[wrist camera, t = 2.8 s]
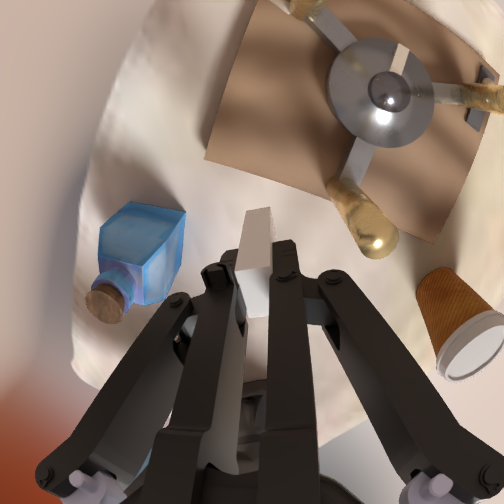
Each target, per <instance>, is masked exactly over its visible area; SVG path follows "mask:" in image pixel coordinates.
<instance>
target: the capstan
mask: <svg viewBox="0 0 504 504" xmlns="http://www.w3.org/2000/svg"><path fill="white" fill-rule="evenodd" d="M327 2H328V0H291V2H290V6H289V10H290V13H291V14H292V16H293V17H295V18H296V19H298V20H300V21H304V22H306V23H307V24H308V25H309V26H310V27H311V28H312V29H313V30H314V31H315V32H316V33H317V34H318V35H319V36H320V37H321V38H322V39H323V41H324V42H325V43H326V44H327V45H328V46H329V47H330V48H331V49H332V50H333V51H334V52H335V54H336V56H335V57H334V59H333V60H332V62H331V63H330V65H329V68H328V70H327V74H326V80H325V91H326V97H327V101H328V104H329V107H330V109H331V111H332V113H333V115H334V117H335V118H336V120H337V121H338V122H339V123H340V125H341V126H342V127H343V128H344V129H345V130H346V131H348V132H349V133H350V134H352V135H351V138H350V140H349V143H348V145H347V148H346V150H345V153H344V155H343V157H342V160H341V162H340V165H339V167H338V170H337V172H336V174H335V175H334V176H332V177H331V178H330V179H329V181H328V183H327V186H326V190H327V193H328V195H329V197H330V198H331V200H332V202H333V203H334V205H335V207H336V208H337V210H338V212H339V213H340V215H341V217H342V218H343V220H344V222H345V224H346V225H347V227H348V229H349V231H350V232H351V234H352V236H353V238H354V239H355V241H356V243H357V245H358V247H359V248H360V250H361V252H362V253H363V255H365V256H366V257H368V258H370V259H381V258H384V257H386V256H387V255H389V254H390V253H391V252H392V251H393V250H394V249H395V247H396V245H397V243H398V238H399V234H398V230H397V228H396V226H395V225H394V224H393V223H392V222H391V221H390V219H389V218H388V217H387V216H386V215H385V214H384V213H383V212H382V211H381V210H380V208H379V207H378V206H377V205H376V204H375V203H374V202H373V201H372V200H371V199H370V198H369V197H368V196H367V195H366V194H365V193H364V192H363V191H362V190H361V189H360V188H359V186H360V184H361V182H362V180H363V177H364V175H365V173H366V170H367V168H368V166H369V163H370V161H371V159H372V156H373V154H374V152H375V149H376V147H377V146H378V147H383V148H398V147H402V146H406V145H408V144H410V143H412V142H414V141H415V140H417V139H418V138H419V137H420V136H421V135H422V134H423V133H424V132H425V130H426V129H427V127H428V126H429V124H430V121H431V119H432V116H433V112H434V104H435V103H442V104H457V105H458V106H460V107H465V108H471V109H476V110H482V111H487V112H491V113H496V114H500V115H504V86H502V85H492V84H479V83H455V84H446V83H434V82H431V79H430V77H429V75H428V72H427V71H426V69H425V67H424V66H423V64H422V63H421V62H420V60H419V59H418V58H417V57H416V56H415V55H414V54H413V53H412V52H410V51H409V50H410V49H408V48H406V47H405V46H403V45H401V44H400V43H396V42H393V41H391V40H387V39H383V38H366V39H361V40H357V39H356V38H355V37H354V36H353V34H352V33H351V32H350V31H349V30H348V29H347V28H346V27H345V26H344V25H343V24H342V23H341V22H340V21H339V20H338V19H337V18H336V16H335V15H334V14H333V13H331V12H330V11H329V10H328V9H327V8H326V7H325V5H326V3H327Z"/></svg>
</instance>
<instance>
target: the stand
mask: <svg viewBox="0 0 504 504" xmlns="http://www.w3.org/2000/svg"><path fill="white" fill-rule="evenodd" d="M290 2H291V0H258V2H257V4H256V6H255V9H254V11H253V14H252V16H251V19H250V21H249V24H248V26H247V29H246V31H245V34H244V37H243V39H242V42H241V45H240V47H239V50H238V53H237V55H236V58H235V61H234V64H233V67H232V70H231V73H230V75H229V78H228V81H227V84H226V87H225V90H224V93H223V96H222V100H221V103H220V106H219V109H218V112H217V116H216V119H215V122H214V125H213V129H212V132H211V136H210V139H209V143H208V146H207V150H206V153H205V157H204V160H208V161H211V162H215V163H218V164H222V165H225V166H229V167H232V168H235V169H239V170H242V171H245V172H248V173H252V174H255V175H258V176H261V177H264V178H267V179H270V180H273V181H276V182H279V183H282V184H285V185H288V186H291V187H294V188H297V189H299V190H302V191H305V192H308V193H311V194H313V195H316V196H319V197H322V198H324V199H327V200H330V201H332V200H331V198H330V197H329V195H328V193H327V190H326V186H327V183H328V181H329V179H330V178H331V177H332V176H334V175H335V174H336V172H337V170H338V167H339V165H340V162H341V160H342V157H343V155H344V153H345V150H346V148H347V145H348V143H349V140H350V138H351V135H352V134H350V133H349V132H348V131H346V130H345V129H344V128H343V127H342V126H341V125H340V123H339V122H338V121H337V120H336V118H335V117H334V115H333V113H332V111H331V109H330V107H329V104H328V101H327V97H326V91H325V80H326V74H327V70H328V68H329V65H330V63H331V62H332V60H333V59H334V57H335V56H336V54H335V52H334V51H333V50H332V49H331V48H330V47H329V46H328V45H327V44H326V43H325V42H324V41H323V39H322V38H321V37H320V36H319V35H318V34H317V33H316V32H315V31H314V30H313V29H312V28H311V27H310V26H309V25H308V24H307V23H306V22H304V21H300V20H298V19H296V18H295V17H293V16H292V14H291V13H290V10H289V6H290ZM325 7H326V8H327V9H328V10H329V11H330V12H331V13H333V14H334V15H335V16H336V18H337V19H338V20H339V21H340V22H341V23H342V24H343V25H344V26H345V27H346V28H347V29H348V30H349V31H350V32H351V33H352V34H353V36H354V37H355V38H356V39H357V40H361V39H366V38H383V39H387V40H391V41H393V42H396V43H400V44H401V45H403V46H405V47H406V48H408V49H410V50H409V51H410V52H412V53H413V54H414V55H415V56H416V57H417V58H418V59H419V60H420V62H421V63H422V64H423V66H424V67H425V69H426V71H427V72H428V75H429V77H430V79H431V82H434V83H446V84H455V83H479V84H492V85H498V81H499V76H500V75H499V74H498V73H497V72H496V71H495V70H494V69H493V68H492V67H491V66H490V65H489V64H488V63H487V62H486V61H485V60H484V59H483V58H482V57H480V56H479V55H478V54H477V53H476V52H475V51H474V50H473V49H472V48H470V47H469V46H468V45H467V44H466V43H464V42H463V41H462V40H461V39H460V38H458V37H457V36H456V35H455V34H453V33H452V32H451V31H449V30H448V29H447V28H445V27H444V26H443V25H441V24H440V23H438V22H437V21H436V20H434V19H433V18H431V17H430V16H428V15H427V14H425V13H424V12H422V11H421V10H419V9H418V8H416V7H414V6H413V5H411V4H410V3H408V2H406V1H405V0H328V2H327V3H326V5H325ZM489 115H490V112H487V111H482V110H476V109H471V108H465V107H460V106H458V105H457V104H442V103H435V104H434V112H433V116H432V119H431V121H430V124H429V126H428V127H427V129H426V130H425V132H424V133H423V134H422V135H421V136H420V137H419V138H418V139H417V140H415V141H414V142H412V143H410V144H408V145H406V146H402V147H398V148H383V147H378V146H377V147H376V149H375V152H374V154H373V156H372V159H371V161H370V163H369V166H368V168H367V170H366V173H365V175H364V177H363V180H362V182H361V184H360V186H359V188H360V189H361V190H362V191H363V192H364V193H365V194H366V195H367V196H368V197H369V198H370V199H371V200H372V201H373V202H374V203H375V204H376V205H377V206H378V207H379V208H380V210H381V211H382V212H383V213H384V214H385V215H386V216H387V217H388V218H389V219H390V221H391V222H392V223H393V224H394V225H395V226H396V228H398V229H400V230H403V231H405V232H407V233H409V234H411V235H414V236H416V237H418V238H420V239H422V240H424V241H427V242H429V243H431V244H434V242H435V240H436V238H437V237H438V235H439V233H440V231H441V229H442V227H443V226H444V224H445V222H446V220H447V218H448V216H449V214H450V212H451V210H452V208H453V206H454V204H455V202H456V200H457V198H458V196H459V193H460V191H461V189H462V187H463V185H464V182H465V180H466V178H467V175H468V173H469V171H470V168H471V166H472V163H473V161H474V158H475V156H476V153H477V151H478V148H479V145H480V142H481V140H482V137H483V134H484V131H485V128H486V125H487V122H488V118H489Z"/></svg>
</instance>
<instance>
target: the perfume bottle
mask: <svg viewBox="0 0 504 504" xmlns="http://www.w3.org/2000/svg"><path fill="white" fill-rule="evenodd" d="M185 216H186V212H184V211H179V210H173V209H168V208H162V207H157V206H151V205H146V204H140V203H134V202H129V203H127V204H126V205H125V206H124V207H123V208H121V209H120V210H119V211H118V212H117V213H116V214H115V215H113V216H112V217H111V218H110V219H109V220H108V221H107V222H106V223H104V224H103V225H102V226H101V227H100V233H99V245H98V263H99V271H100V275H99V276H98V277H97V278H96V280H95V281H94V282H93V284H92V286H91V291H90V292H89V293H87V295H86V298H85V300H86V305H87V308H88V309H89V311H90V312H91V313H92V314H93V315H94V316H95V317H96V318H97V319H99V320H100V321H102V322H105V323H108V324H116V323H118V322H120V320H121V319H122V315H123V314H125V313H126V312H128V310H129V308H130V307H131V305H132V303H135V304H139V305H142V306H145V305H148V304H152V303H156V302H159V301H163V300H165V298H166V295H167V293H168V291H169V289H170V287H171V285H172V282H173V280H174V278H175V276H176V274H177V272H178V270H179V268H180V266H181V259H182V247H183V236H184V226H185Z"/></svg>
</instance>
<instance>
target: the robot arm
mask: <svg viewBox="0 0 504 504" xmlns="http://www.w3.org/2000/svg"><path fill="white" fill-rule="evenodd" d="M201 276H202V278H203V281H204V284H205V286H206V290H205V293H204V294H202V295H199V296H196V297H193V298H190V296H189V295H188V294H187V293H184V292H178V293H174V294H172V295H171V296H169V297H168V298H167V299H166V300H165V301H164V302H163V303H162V305H161V306H160V307H159V309H158V310H157V311H156V313H155V314H154V315H153V317H152V318H151V319H150V321H149V322H148V324H147V325H146V326H145V328H144V329H143V330H142V332H141V333H140V335H139V336H138V337H137V339H136V340H135V341H134V343H133V344H132V346H131V347H130V348H129V350H128V351H127V353H126V354H125V356H124V357H123V358H122V360H121V361H120V363H119V364H118V365H117V367H116V368H115V370H114V371H113V373H112V374H111V376H110V377H109V378H108V380H107V381H106V383H105V384H104V386H103V387H102V389H101V390H100V392H99V393H98V395H97V396H96V398H95V399H94V401H93V402H92V404H91V405H90V407H89V408H88V410H87V411H86V413H85V414H84V416H83V417H82V419H81V421H80V422H79V424H78V425H77V427H76V428H75V430H74V431H73V433H72V434H71V436H70V437H69V438H68V439H67V440H66V441H64V442H63V443H62V444H61V445H60V446H59V447H57V449H55V450H54V451H53V452H52V453H51V454H50V455H48V456H47V457H46V458H45V459H43V460H42V461H41V462H40V463H39V465H38V466H37V468H36V471H35V478H36V482H37V484H38V485H39V487H40V488H42V489H43V490H45V491H47V492H49V493H51V494H53V495H55V496H57V497H59V498H60V499H61V501H62V502H63V504H364V503H363V502H362V501H360V500H359V499H358V498H357V497H356V496H355V495H353V494H352V493H351V492H350V491H349V490H348V489H347V488H346V487H344V486H343V485H342V484H341V483H339V482H337V481H336V480H334V479H332V478H330V477H328V476H326V475H323V474H320V468H319V451H318V434H317V420H316V407H315V396H314V385H313V374H312V364H311V355H310V345H309V337H308V328H307V324H311V325H321V326H322V329H323V331H324V333H325V335H326V337H327V339H328V340H329V342H330V344H331V346H332V348H333V350H334V352H335V354H336V356H337V357H338V359H339V361H340V363H341V365H342V367H343V369H344V371H345V373H346V375H347V376H348V378H349V380H350V382H351V384H352V386H353V388H354V390H355V392H356V394H357V396H358V398H359V400H360V402H361V404H362V406H363V407H364V409H365V411H366V413H367V415H368V417H369V419H370V421H371V423H372V425H373V427H374V429H375V431H376V433H377V435H378V437H379V439H380V441H381V443H382V445H383V447H384V449H385V451H386V454H387V456H388V457H389V460H390V462H391V464H392V465H393V467H394V469H395V471H396V472H397V474H398V475H399V476H400V477H401V479H402V480H403V482H404V483H405V484H406V486H405V487H404V489H403V490H402V492H401V494H400V497H399V504H478V503H480V502H483V501H485V500H487V499H490V498H491V497H493V496H495V495H497V494H498V493H499V492H500V491H501V490H502V488H503V487H504V456H503V455H502V454H500V453H499V452H497V451H496V450H494V449H493V448H492V447H490V446H489V445H487V444H486V443H484V442H483V441H482V440H480V439H479V438H477V437H476V436H474V435H473V434H472V433H470V432H469V431H467V430H466V429H465V428H463V427H462V426H460V425H459V423H458V422H457V420H456V419H455V417H454V416H453V414H452V412H451V411H450V409H449V408H448V406H447V405H446V403H445V402H444V401H443V399H442V397H441V396H440V395H439V393H438V392H437V390H436V389H435V387H434V386H433V384H432V383H431V382H430V380H429V379H428V377H427V376H426V374H425V373H424V372H423V370H422V369H421V367H420V366H419V365H418V363H417V362H416V360H415V359H414V358H413V356H412V355H411V354H410V352H409V351H408V350H407V348H406V347H405V346H404V344H403V343H402V342H401V340H400V339H399V338H398V336H397V335H396V334H395V332H394V331H393V330H392V328H391V327H390V326H389V325H388V323H387V322H386V321H385V319H384V318H383V317H382V316H381V314H380V313H379V312H378V311H377V309H376V308H375V307H374V306H373V304H372V303H371V302H370V301H369V299H368V298H367V297H366V296H365V294H364V293H363V292H362V291H361V289H360V288H359V287H358V286H357V285H356V283H355V282H354V281H353V280H352V279H351V277H350V276H349V275H348V274H347V273H346V272H344V271H342V270H335V269H333V270H327V271H325V272H323V273H321V274H320V275H319V276H318V279H313V278H308V277H305V276H304V275H302V274H301V273H300V269H299V263H298V256H297V250H296V244H295V243H294V242H293V241H292V240H291V239H290V240H284V241H278V242H277V239H276V234H275V229H274V224H273V219H272V214H271V210H270V207H266V208H260V209H255V210H249V211H246V214H245V219H244V224H243V229H242V234H241V240H240V245H239V249H233V250H227V251H226V252H225V253H224V254H223V255H222V256H221V259H220V262H217V263H213V264H210V265H208V266H206V267H205V268H204V269H203V270H202V271H201ZM246 311H247V314H248V317H249V318H255V317H263V316H269V326H268V365H267V380H263V381H254V382H249V383H245V384H243V377H244V366H245V355H246V344H247V333H248V323H247V320H246ZM176 335H178V339H177V340H176V341H175V340H174V339H175V337H176ZM172 409H173V410H172ZM171 411H172V414H171V418H170V422H169V425H168V426H167V427H166V428H163V426H164V424H165V422H166V420H167V418H168V416H169V414H170V412H171Z"/></svg>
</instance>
